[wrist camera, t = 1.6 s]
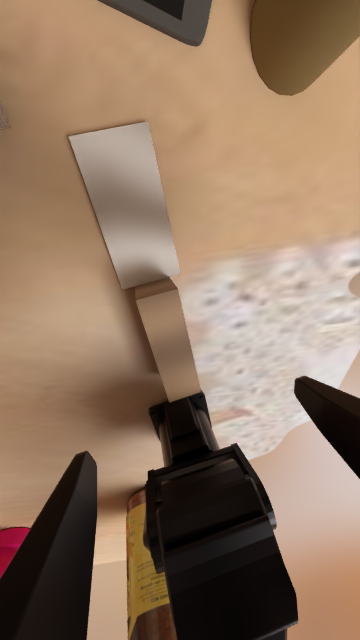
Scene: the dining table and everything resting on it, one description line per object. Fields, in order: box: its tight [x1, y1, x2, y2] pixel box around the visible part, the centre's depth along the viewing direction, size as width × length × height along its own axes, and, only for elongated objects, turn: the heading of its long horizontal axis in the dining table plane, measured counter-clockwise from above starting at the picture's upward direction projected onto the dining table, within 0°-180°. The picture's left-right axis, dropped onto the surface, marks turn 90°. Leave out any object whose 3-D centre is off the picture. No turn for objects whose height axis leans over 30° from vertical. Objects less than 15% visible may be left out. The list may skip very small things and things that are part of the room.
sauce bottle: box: [126, 489, 177, 640], centre depth 22 cm, size 7×6×20 cm
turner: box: [68, 121, 201, 402], centre depth 16 cm, size 20×5×4 cm, turn 12°
